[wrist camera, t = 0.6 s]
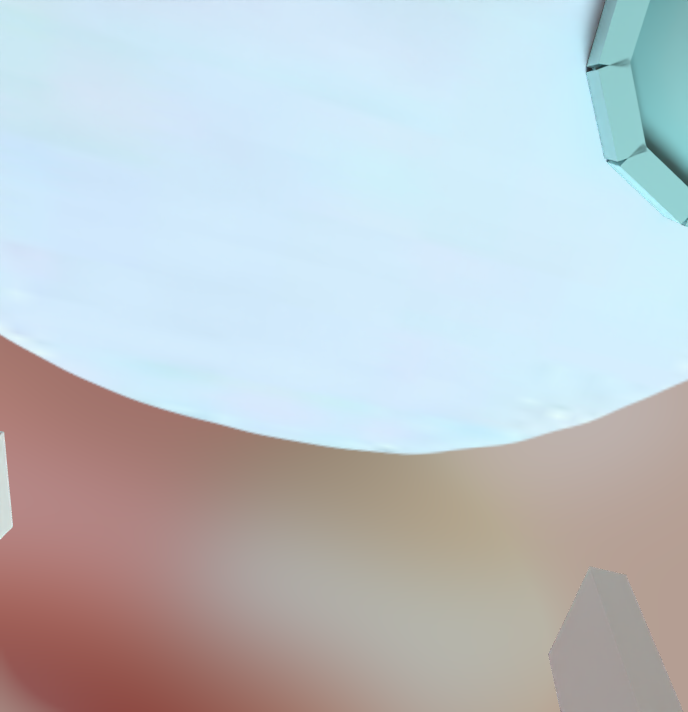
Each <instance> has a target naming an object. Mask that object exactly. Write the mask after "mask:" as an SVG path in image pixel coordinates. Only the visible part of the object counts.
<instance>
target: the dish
mask: <svg viewBox="0 0 688 712" xmlns="http://www.w3.org/2000/svg"><path fill="white" fill-rule="evenodd" d="M586 67H590V68H592V70H591V71H589V72H586V75H587V79H588V84H589V88H590V93H591V98H592V102H593V107H594V112H595V116H596V121H597V125H598V130H599V135H600V139H601V144H602V149H603V153H604V158H605V159H609V161H608V162H607V163H608V164H609V165H610V166H611V167H612V168H613V169H614V170H615V171H616V172H618V173H619V174H620V175H621V176H622V177H623V178H624V179H625V180H626V181H627V182H628V183H629V184H630V185H631V186H632V187H633V188H634V189H636V190H637V191H638V192H639V193H640V194H641V195H642V196H643V197H644V198H645V199H646V200H647V201H648V202H649V203H650V204H651V205H652V206H653V207H655V208H656V209H657V210H658V211H659V212H660V213H661V214H662V215H663V216H664V217H666V218H668V219H671V220H673V221H675V222H677V223H679V224H682V225H684V226H687V227H688V0H606V1H605V5H604V8H603V11H602V15H601V18H600V22H599V25H598V29H597V32H596V35H595V39H594V42H593V46H592V49H591V53H590V56H589V59H588V63H587V66H586Z"/></svg>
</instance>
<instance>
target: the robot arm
mask: <svg viewBox="0 0 688 712" xmlns="http://www.w3.org/2000/svg"><path fill="white" fill-rule="evenodd" d="M12 527H13V522H12V512H11V501H10V491H9V480H8V470H7V460H6V450H5V439H4V432H2V431H0V539H1V538H2V537H3V536H4V535H5V534H6V533H7V532H8V531H9V530H10V529H11V528H12ZM548 655H549V660H550V665H551V669H552V674H553V678H554V683H555V688H556V692H557V697H558V702H559V706H560V711H561V712H683V710H682V707H681V705H680V702H679V700H678V698H677V696H676V693H675V691H674V688H673V686H672V683H671V681H670V679H669V676H668V674H667V671H666V669H665V667H664V664H663V662H662V659H661V657H660V655H659V652H658V650H657V648H656V645H655V643H654V641H653V638H652V636H651V633H650V631H649V628H648V626H647V624H646V621H645V619H644V617H643V614H642V612H641V609H640V607H639V605H638V602H637V600H636V597H635V595H634V593H633V590H632V588H631V586H630V583H629V581H628V578H627V576H626V575H625V574H621V573H616V572H612V571H608V570H603V569H599V568H595V567H589V569H588V571H587V573H586V575H585V578H584V580H583V582H582V584H581V586H580V588H579V590H578V593H577V594H576V597H575V599H574V601H573V603H572V605H571V607H570V609H569V612H568V614H567V616H566V618H565V620H564V622H563V624H562V627H561V629H560V631H559V633H558V635H557V637H556V640H555V641H554V643H553V646H552V648H551V650H550V652H549V654H548Z"/></svg>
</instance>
